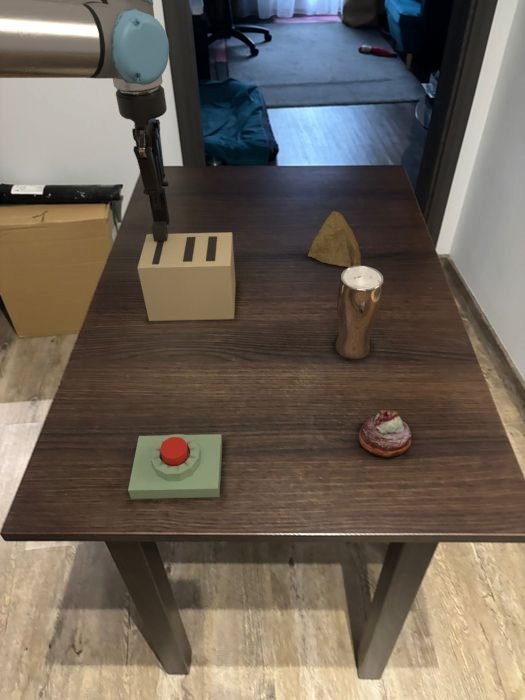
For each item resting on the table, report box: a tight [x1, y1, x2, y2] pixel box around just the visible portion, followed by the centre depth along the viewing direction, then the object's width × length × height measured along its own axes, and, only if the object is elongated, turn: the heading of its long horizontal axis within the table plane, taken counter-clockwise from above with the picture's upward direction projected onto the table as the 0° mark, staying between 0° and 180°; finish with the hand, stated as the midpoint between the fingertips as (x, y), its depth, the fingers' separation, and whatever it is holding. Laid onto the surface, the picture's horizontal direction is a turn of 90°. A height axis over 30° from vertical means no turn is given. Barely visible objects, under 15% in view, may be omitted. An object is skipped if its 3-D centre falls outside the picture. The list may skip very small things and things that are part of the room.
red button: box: [160, 437, 188, 466], centre depth 71 cm, size 4×4×2 cm
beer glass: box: [334, 265, 384, 360], centre depth 87 cm, size 7×7×15 cm
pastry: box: [358, 409, 413, 459], centre depth 76 cm, size 8×8×5 cm
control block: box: [127, 433, 223, 500], centre depth 73 cm, size 12×9×4 cm
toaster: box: [137, 231, 236, 322], centre depth 98 cm, size 16×11×12 cm
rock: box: [307, 210, 362, 268], centre depth 109 cm, size 11×9×10 cm
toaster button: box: [150, 221, 169, 241], centre depth 96 cm, size 2×2×3 cm
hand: (161, 222), depth 98 cm, fingers closed
